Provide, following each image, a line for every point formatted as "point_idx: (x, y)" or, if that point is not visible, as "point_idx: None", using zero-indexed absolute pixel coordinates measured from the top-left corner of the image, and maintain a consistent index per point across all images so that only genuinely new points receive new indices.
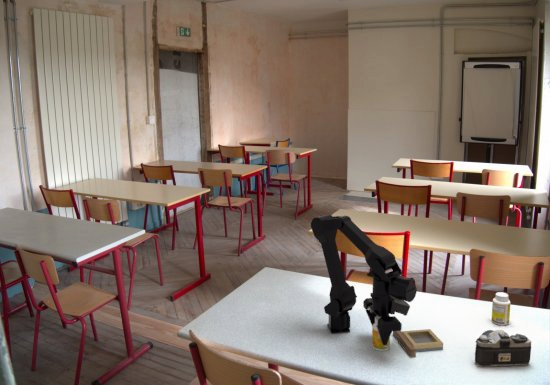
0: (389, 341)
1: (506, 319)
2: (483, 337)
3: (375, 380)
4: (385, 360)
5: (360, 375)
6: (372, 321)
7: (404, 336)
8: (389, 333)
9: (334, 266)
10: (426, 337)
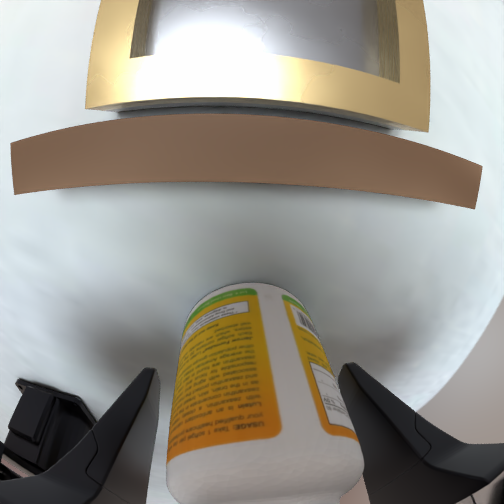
0: (302, 327)
1: None
2: None
3: (452, 375)
4: (394, 338)
5: (411, 408)
6: (142, 491)
7: (239, 127)
8: (433, 439)
9: None
10: None
